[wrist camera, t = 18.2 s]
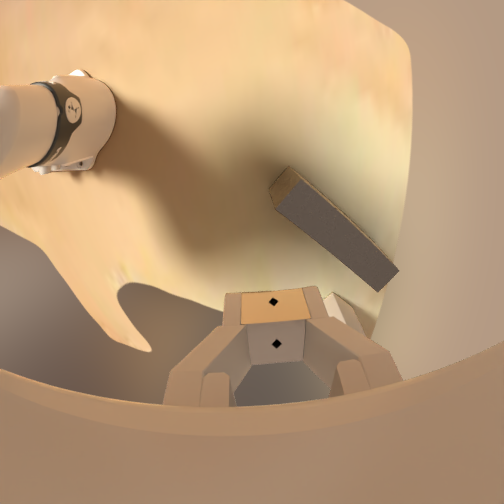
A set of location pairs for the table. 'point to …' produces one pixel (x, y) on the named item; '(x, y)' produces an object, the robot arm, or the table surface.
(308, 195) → the grey rectangular box
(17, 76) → the table surface
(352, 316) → the milk carton
